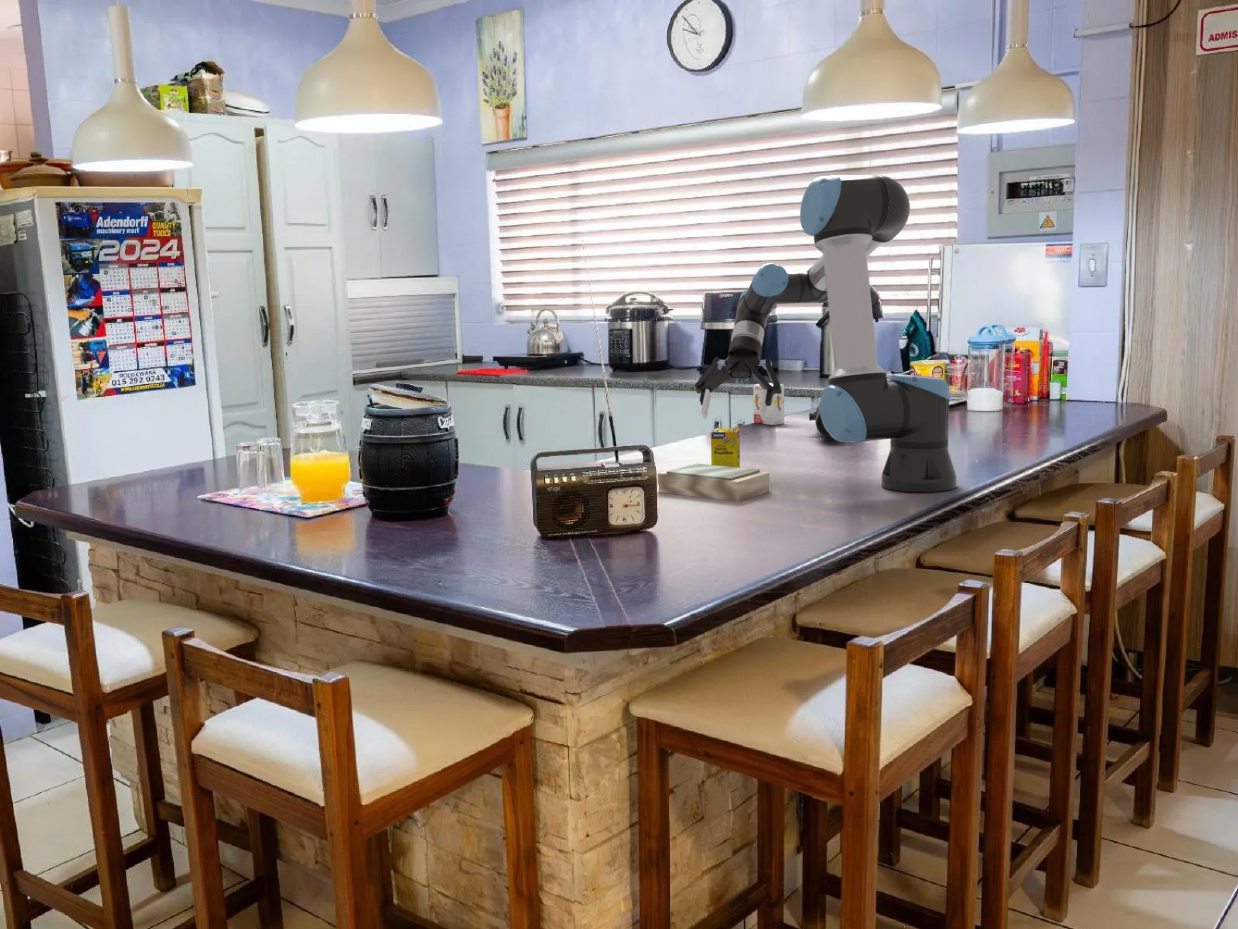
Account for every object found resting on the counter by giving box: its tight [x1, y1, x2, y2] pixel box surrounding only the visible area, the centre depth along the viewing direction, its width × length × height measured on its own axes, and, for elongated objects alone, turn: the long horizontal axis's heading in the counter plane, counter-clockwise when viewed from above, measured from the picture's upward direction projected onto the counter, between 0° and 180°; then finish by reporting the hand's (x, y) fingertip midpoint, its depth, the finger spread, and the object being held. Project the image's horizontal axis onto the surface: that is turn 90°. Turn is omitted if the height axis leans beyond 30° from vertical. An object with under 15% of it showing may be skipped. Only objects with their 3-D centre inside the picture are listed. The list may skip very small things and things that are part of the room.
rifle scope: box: [808, 405, 834, 439], centre depth 307 cm, size 10×26×10 cm, turn 172°
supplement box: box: [710, 427, 741, 468], centre depth 248 cm, size 6×6×11 cm
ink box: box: [752, 382, 785, 426], centre depth 334 cm, size 9×5×12 cm, turn 39°
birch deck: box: [657, 463, 770, 502], centre depth 234 cm, size 20×12×4 cm, turn 51°
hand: (732, 415), depth 255 cm, fingers open, 13 cm apart
